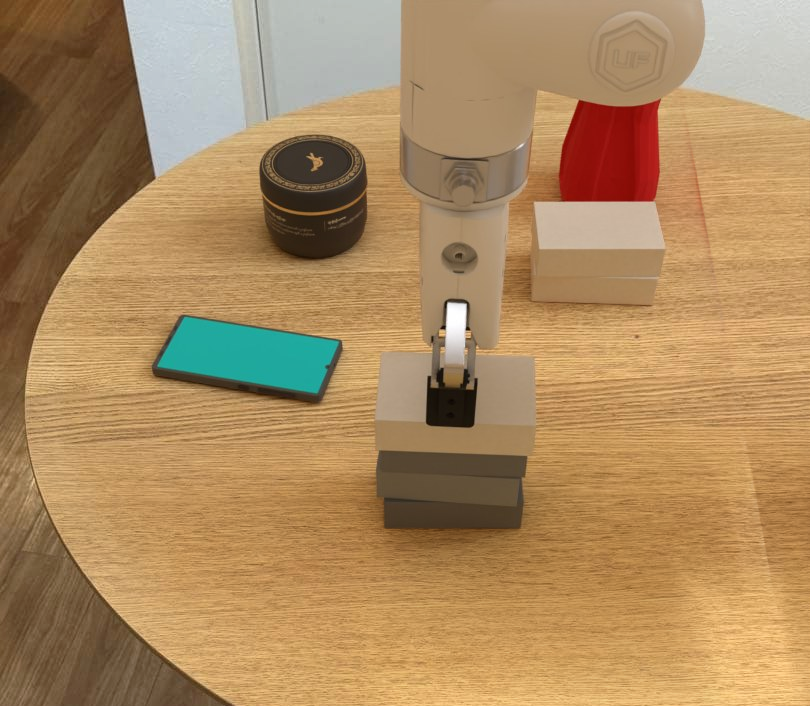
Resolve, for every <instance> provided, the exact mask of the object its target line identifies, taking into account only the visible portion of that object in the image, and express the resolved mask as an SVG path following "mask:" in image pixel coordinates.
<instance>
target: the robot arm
mask: <svg viewBox="0 0 810 706" xmlns="http://www.w3.org/2000/svg"><path fill="white" fill-rule="evenodd" d="M703 5H704V4H703V0H400V82H399V83H400V87H399V88H400V89H399V93H400V97H399V98H400V99H399V101H400V102H399V119H400V120H399V170H398V171H399V179H400V182H401V184H402V185H403V187H404V188H405V190H406V191H407V192H408V193H409V194H410V195H412V196H413V197H414V198H416V199H417V200H418V201H419V202H418V203H419V204H418V205H419V206H418V207H419V208H418V209H419V211H418V212H419V213H418V265H419V266H418V273H419V275H418V277H419V278H418V279H419V300H420V302H419V303H420V318H421V334H422V340H423V342H424V344H426V345H427V346H428V347H429V348H432V352H431V353H432V369H431V376H427V400H426V424H427V425H429V426H438V427H459V428H471V427H473V426H474V422H475V410H476V398H477V386H478V378H475V361H476V355H477V347H478V349H479V350H488V351H493V350H494V349H495V348H496V347H497V346H498V345H499V344H500V330H501V319H502V318H501V317H502V304H503V293H504V280H505V270H506V258H507V247H508V235H509V233H508V232H509V220H510V219H509V217H510V202H511V201H513V200H515V199H516V198H517V197H518V196H520V194H521V193H522V192H523V191H524V189H526V187H527V184H528V180H529V172H530V164H531V163H530V162H531V154H532V147H533V146H532V145H533V136H534V124H535V116H536V105H537V97H538V91H541V92H546V93H549V94H554V95H558V96H563V97H567V98H569V99H570V98H571V99H574V100H577V101H578V100H582V101H587V102H592V103H596V104H602V105H609V106H637V105H643V104H647V103H651V102H654V101H657V100H659V99H661V100H662V99H663V98H666V97H667V96H668V95H670V94H672V93H673V92H675V91H676V90H677V89H679V88H680V87H681V86H682V85H683V84H684V83H685V82H686V81H687V79H688V78H689V77H690V76H691V75H692V73H693V71H694V70H695V68H696V66H697V64H698V63H699V60H700V57H701V55H702V51H703V48H704V42H705V37H706V20H705V9H704V6H703ZM440 330H441V331H442V330H443V331H445V336H440ZM466 332H470V337H466V336H467V334H466ZM441 348H444V353H443V354H444V368H440V353H441ZM466 349H467V353H466ZM465 354H467V369H464V357H465Z"/></svg>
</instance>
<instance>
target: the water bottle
mask: <svg viewBox="0 0 810 706" xmlns="http://www.w3.org/2000/svg"><path fill="white" fill-rule="evenodd" d="M661 101H662V98H661V99H659V100H657V101H654V102H651V103H647V104H643V105H637V106H609V105H602V104H596V103H592V102H587V101H582V100H578V99H577V103H576V106H575V109H574V112H573V114H572V117H571V120H570V123H569V125H568V129H567V131H566V135H565V137H564V140H563V143H562V145H561V152H560V161H559V171H558V181H559V182H558V183H559V190H560V197H561V202H655V201H654V200H655V199H656V197H657V191H658V186H659V180H660V173H661V172H660V171H661V167H660V166H661V165H660V136H659V107H660V104H661Z"/></svg>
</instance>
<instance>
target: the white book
mask: <svg viewBox="0 0 810 706" xmlns="http://www.w3.org/2000/svg"><path fill="white" fill-rule="evenodd" d="M444 354H445V353H441V352H440V368H444ZM431 369H432V352H412V351H410V352H409V351H408V352H407V351H383V350H382V351H381V352H380V360H379V371H378V381H377V390H376V398H375V399H376V400H375V408H374V421H373V422H374V424H373V425H374V449H375V451H379V450H385V451H412V452H438V453H465V454H491V455H517V456H528V457H533V456H534V451H535V443H536V442H535V441H536V436H537V435H536V433H537V426H538V425H537V396H536V395H537V387H536V356H529V355H528V356H526V355H524V356H523V355H501V354H500V355H499V354H498V355H497V354H476V361H475V378H478V386H477V398H476V410H475V422H474V426H473V427H471V428H459V427H438V426H429V425H427V424H426V400H427V376H431ZM464 369H467V353H465V357H464Z"/></svg>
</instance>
